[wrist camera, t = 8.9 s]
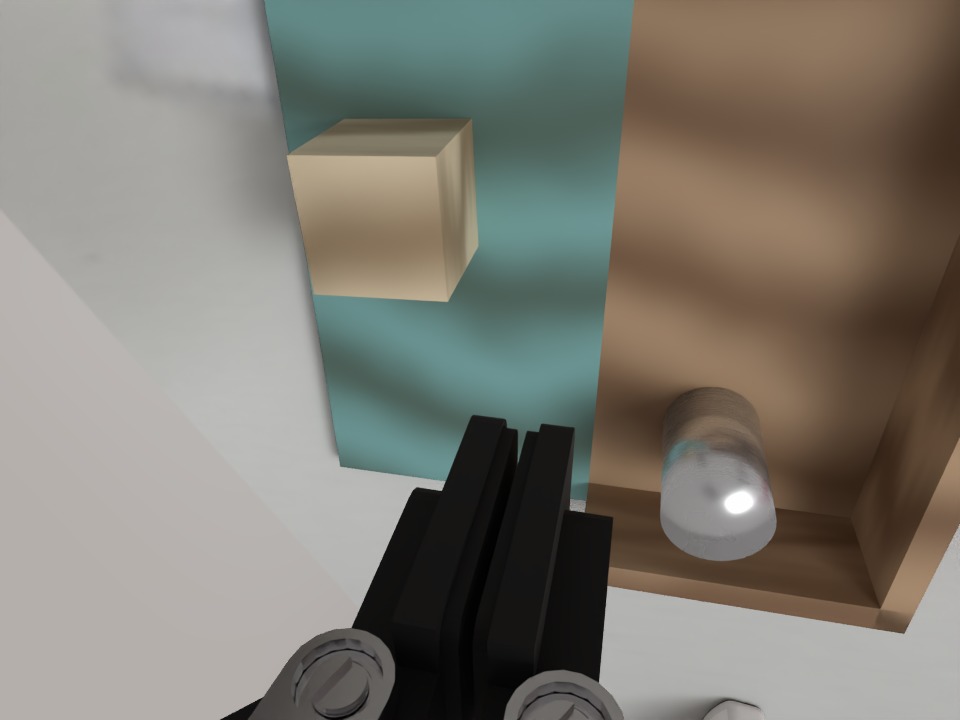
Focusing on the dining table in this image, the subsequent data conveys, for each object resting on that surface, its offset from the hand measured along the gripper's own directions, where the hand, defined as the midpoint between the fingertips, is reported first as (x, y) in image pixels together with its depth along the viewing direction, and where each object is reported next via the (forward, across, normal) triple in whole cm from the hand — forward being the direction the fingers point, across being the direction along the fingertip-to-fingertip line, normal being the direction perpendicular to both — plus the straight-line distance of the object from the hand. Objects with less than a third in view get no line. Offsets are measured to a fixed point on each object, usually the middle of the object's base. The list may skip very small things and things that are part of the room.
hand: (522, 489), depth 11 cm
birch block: (+17, +7, +1) cm, 18 cm away
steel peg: (+17, -6, +11) cm, 21 cm away
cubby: (+18, 0, +4) cm, 18 cm away
